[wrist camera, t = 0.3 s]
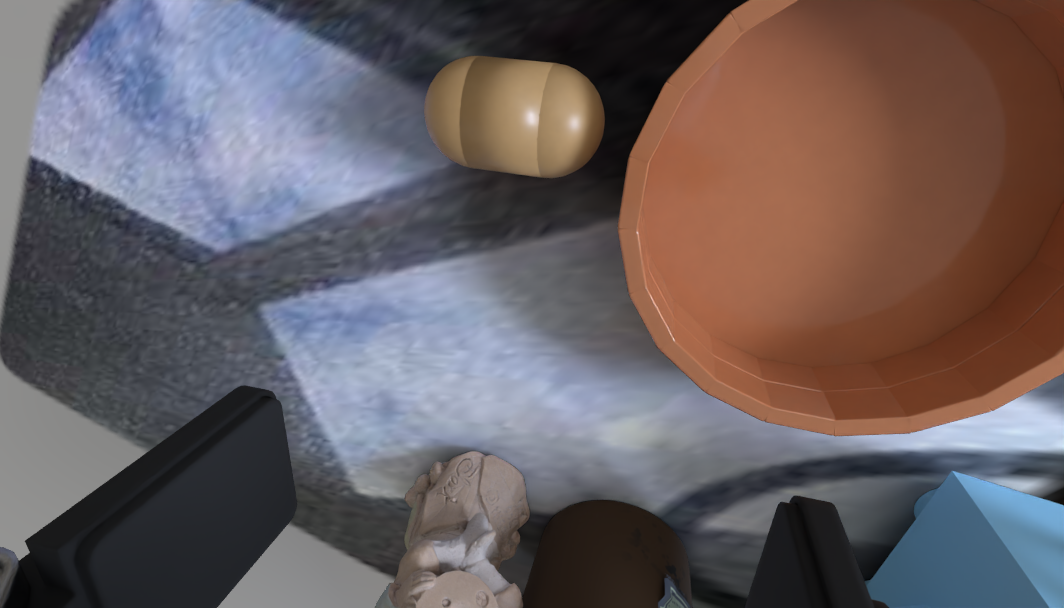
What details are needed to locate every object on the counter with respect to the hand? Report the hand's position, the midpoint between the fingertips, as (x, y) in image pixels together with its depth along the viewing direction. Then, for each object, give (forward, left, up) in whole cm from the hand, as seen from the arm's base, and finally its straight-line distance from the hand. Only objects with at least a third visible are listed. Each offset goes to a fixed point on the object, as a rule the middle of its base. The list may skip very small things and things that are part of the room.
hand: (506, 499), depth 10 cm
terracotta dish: (-3, +9, -18) cm, 21 cm away
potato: (-5, -5, -18) cm, 20 cm away
